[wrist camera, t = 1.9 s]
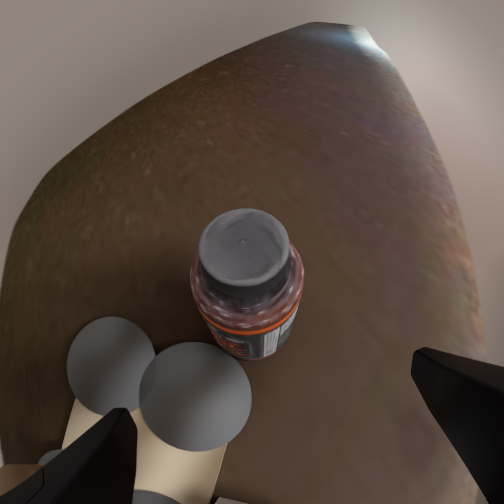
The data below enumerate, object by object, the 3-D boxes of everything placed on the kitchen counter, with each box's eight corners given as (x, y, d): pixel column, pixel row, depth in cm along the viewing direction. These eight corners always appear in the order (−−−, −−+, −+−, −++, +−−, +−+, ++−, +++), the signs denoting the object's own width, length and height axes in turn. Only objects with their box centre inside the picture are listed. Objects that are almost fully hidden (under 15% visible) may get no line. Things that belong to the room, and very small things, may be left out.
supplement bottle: (197, 331, 22) (146, 253, 13) (245, 276, 25) (232, 173, 15) (259, 379, 20) (255, 336, 11) (306, 316, 23) (336, 228, 13)
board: (263, 360, 21) (263, 332, 15) (199, 582, 11) (175, 626, 5) (93, 310, 23) (48, 270, 17) (38, 502, 13) (-17, 507, 7)
